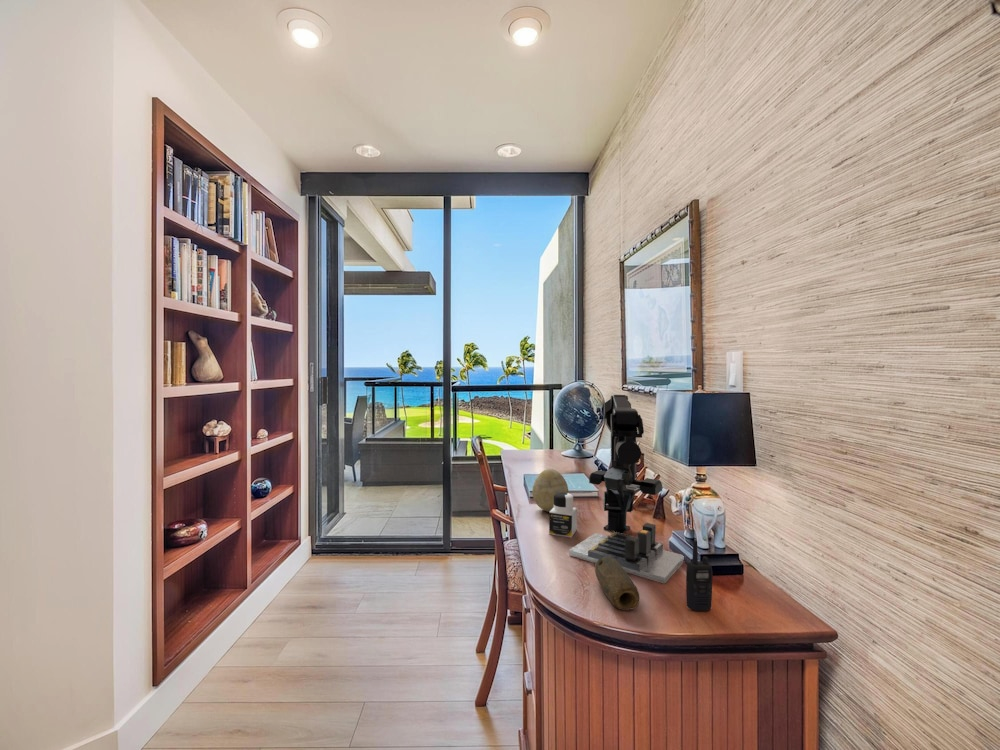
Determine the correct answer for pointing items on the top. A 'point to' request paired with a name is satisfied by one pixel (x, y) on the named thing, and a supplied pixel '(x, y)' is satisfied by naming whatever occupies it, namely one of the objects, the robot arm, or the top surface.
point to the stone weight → (616, 583)
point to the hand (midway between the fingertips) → (624, 513)
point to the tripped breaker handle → (644, 541)
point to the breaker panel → (649, 571)
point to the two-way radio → (698, 582)
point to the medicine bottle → (563, 516)
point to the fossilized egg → (548, 488)
